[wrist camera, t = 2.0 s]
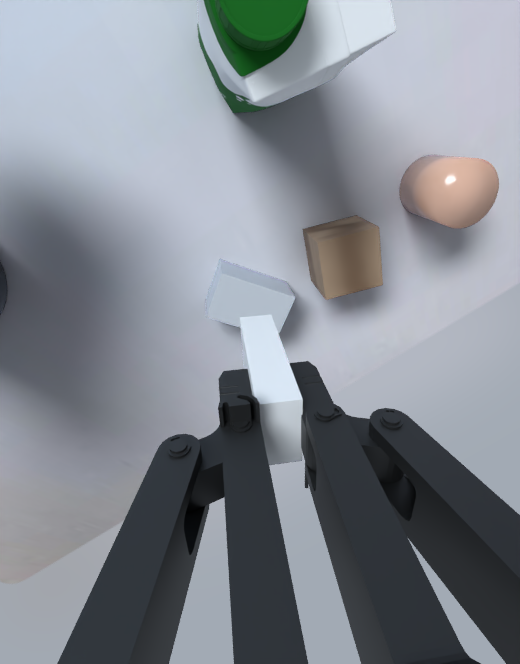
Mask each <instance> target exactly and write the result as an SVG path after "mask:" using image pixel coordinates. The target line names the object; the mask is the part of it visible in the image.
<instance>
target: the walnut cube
mask: <svg viewBox="0 0 520 664" xmlns="http://www.w3.org/2000/svg"><path fill="white" fill-rule="evenodd" d="M303 234H304V240H305V246H306V252H307V258H308V265H309V271H310V277H311V281H312V282H313V283H314V285H315V286H316V287H317V289H318V290H319V291H320V293H321V294H322V295H323V297H324V298H325V299H326V300H328V299H332V298H335V297H339V296H343V295H347V294H351V293H354V292H358V291H362V290H366V289H370V288H373V287H377V286H381V285H383V281H382V265H381V250H380V235H379V227H378V226H376V225H374V224H372V223H370V222H368V221H366V220H365V219H363V218H361V217H359V216H357V215H355V216H351V217H348V218H344V219H340V220H336V221H332V222H328V223H324V224H321V225H317V226H313V227H309V228H305V229H303Z"/></svg>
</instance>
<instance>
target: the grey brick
mask: <svg viewBox="0 0 520 664" xmlns="http://www.w3.org/2000/svg"><path fill="white" fill-rule="evenodd" d="M295 298H296V297H295V296H294V294H293V292H292V290H291V289H290V287H289V285H288V283H287V282H286V281H283V280H280V279H278V278H275V277H272V276H269V275H266V274H263V273H260V272H257V271H254V270H251V269H248V268H245V267H242V266H239V265H236V264H233V263H230V262H228V261H225V260H222V259H220V260H219V263H218V266H217V268H216V271H215V274H214V277H213V280H212V283H211V286H210V288H209V291H208V294H207V297H206V318H209V319H212V320H216V321H219V322H223V323H226V324H230V325H233V326H236V327H240V317H249V316H260V315H272V318H273V321H274V323H275V326H276V329H277V331H278V334H279V333H280V331H281V329H282V326H283V324H284V322H285V320H286V318H287V315H288V313H289V311H290V309H291V307H292V304H293V302H294V300H295Z"/></svg>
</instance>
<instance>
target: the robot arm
mask: <svg viewBox="0 0 520 664" xmlns="http://www.w3.org/2000/svg"><path fill="white" fill-rule="evenodd" d="M6 296H7V283H6V277H5V273H4V270H3V267H2V265H1V262H0V314H1V313H2V311H3V308H4V305H5V302H6ZM240 329H241V342H242V355H243V367H244V369H240V370H231V371H223V373H222V375H221V376H220V378H219V392H220V403H219V407H218V410H219V418H220V425H219V427H218V429H217V430H216V431H215V432H214V433H212V434H211V435H209V436H207V437H205V438H202V439H199V440H198V439H197V438H195V437H194V436H192V435H188V434H179V435H175V436H172V437H169V438H168V439H166V440H165V441H164V442H162V444H161V445H160V446H159V448H158V450H157V452H156V454H155V456H154V458H153V461H152V463H151V465H150V467H149V469H148V471H147V473H146V475H145V478H144V480H143V482H142V484H141V486H140V488H139V490H138V493H137V495H136V497H135V499H134V501H133V503H132V505H131V508H130V510H129V512H128V514H127V516H126V518H125V520H124V522H123V525H122V527H121V529H120V531H119V533H118V536H117V537H116V540H115V542H114V544H113V546H112V548H111V550H110V552H109V555H108V557H107V559H106V561H105V563H104V565H103V568H102V570H101V572H100V574H99V576H98V578H97V581H96V582H95V585H94V587H93V589H92V591H91V593H90V595H89V597H88V600H87V602H86V604H85V606H84V608H83V610H82V612H81V615H80V617H79V619H78V621H77V623H76V625H75V627H74V630H73V631H72V634H71V636H70V638H69V640H68V642H67V644H66V647H65V649H64V651H63V653H62V655H61V657H60V659H59V661H58V664H169V661H170V656H171V653H172V649H173V645H174V641H175V638H176V634H177V630H178V626H179V622H180V618H181V614H182V611H183V606H184V603H185V598H186V595H187V591H188V587H189V583H190V580H191V575H192V572H193V568H194V564H195V560H196V556H197V552H198V549H199V544H200V540H201V537H202V533H203V529H204V525H205V522H206V517H207V514H208V510H209V504H210V503H212V502H215V501H217V500H219V499H221V498H223V497H225V513H226V531H227V548H228V566H229V583H230V600H231V618H232V636H233V653H234V664H308V660H307V656H306V650H305V645H304V640H303V635H302V631H301V625H300V620H299V615H298V610H297V605H296V600H295V595H294V589H293V585H292V580H291V574H290V569H289V565H288V559H287V554H286V549H285V544H284V539H283V534H282V529H281V524H280V519H279V514H278V509H277V503H276V499H275V493H274V489H273V483H272V478H271V473H270V469H269V465H274V464H281V463H289V462H296V461H302V452H303V455H304V458H305V488H308V484H309V486H310V490H311V494H312V497H313V501H314V504H315V507H316V510H317V514H318V518H319V521H320V524H321V528H322V531H323V535H324V538H325V542H326V545H327V548H328V552H329V555H330V559H331V562H332V565H333V569H334V572H335V575H336V579H337V582H338V586H339V589H340V593H341V596H342V599H343V603H344V606H345V610H346V613H347V616H348V620H349V623H350V627H351V630H352V634H353V637H354V640H355V644H356V647H357V651H358V654H359V657H360V661H361V664H480V663H479V662H477V661H475V660H473V659H471V658H470V657H469V656H468V655H467V654H466V652H465V651H464V649H463V647H462V646H461V644H460V642H459V640H458V638H457V636H456V634H455V632H454V630H453V628H452V626H451V624H450V622H449V620H448V618H447V616H446V614H445V612H444V610H443V608H442V606H441V604H440V602H439V600H438V598H437V596H436V594H435V592H434V590H433V588H432V586H431V584H430V582H429V580H428V578H427V576H426V574H425V572H424V570H423V568H422V566H421V564H420V562H419V560H418V558H417V556H416V554H415V552H414V550H413V548H412V546H411V544H410V542H409V540H410V541H411V542H412V543H413V545H414V546H415V547H416V549H418V551H419V552H420V554H421V555H422V556H423V558H424V559H425V560H426V561H427V563H428V564H429V565H430V566H431V568H432V569H433V570H434V572H435V573H436V574H437V575H438V577H439V578H440V579H441V581H442V582H443V583H444V584H445V586H446V587H447V588H448V590H449V591H450V592H451V593H452V595H453V596H454V597H455V599H456V600H457V601H458V602H459V604H460V605H461V606H462V607H463V609H464V610H465V611H466V613H467V614H468V615H469V616H470V618H471V619H472V620H473V621H474V623H475V624H476V625H477V627H478V628H479V629H480V630H481V632H482V633H483V634H484V636H485V637H486V638H487V639H488V641H489V642H490V643H491V645H492V646H493V647H494V648H495V650H496V651H497V652H498V654H499V655H500V656H501V657H502V659H503V660H504V661H505V663H506V664H520V515H519V514H518V513H517V512H515V511H514V510H513V509H512V508H511V507H510V506H509V505H508V504H506V503H505V502H504V501H503V500H502V499H500V497H498V496H497V495H496V494H495V493H494V492H493V491H492V490H491V489H489V488H488V487H487V486H486V485H485V484H484V483H483V482H482V481H480V480H479V479H478V478H477V477H476V476H475V475H474V474H473V473H471V472H470V471H469V470H468V469H467V468H466V467H465V466H464V465H462V464H461V463H460V462H459V461H458V460H457V459H456V458H455V457H453V456H452V455H451V454H450V453H449V452H448V451H447V450H445V449H444V448H443V447H442V446H441V445H440V444H439V443H438V442H437V441H435V440H434V439H433V438H432V437H431V436H430V435H429V434H427V433H426V432H425V431H424V430H423V429H422V428H421V427H420V426H418V425H417V424H416V423H415V422H414V421H413V420H412V419H411V418H409V417H408V416H407V415H406V414H404V413H402V412H400V411H398V410H395V409H388V408H384V409H378V410H376V411H374V412H373V413H372V415H371V416H370V419H365V418H357V417H351V416H348V415H346V414H345V412H344V411H343V410H342V409H341V408H340V407H339V406H337V405H335V404H333V401H332V399H331V397H330V395H329V393H328V391H327V389H326V387H325V385H324V383H323V380H322V378H321V377H320V374H319V372H318V370H317V368H316V367H315V366H314V365H312V364H311V363H310V362H308V361H306V362H297V363H289V361H288V358H287V356H286V353H285V350H284V348H283V345H282V342H281V339H280V337H279V334H278V331H277V329H276V326H275V323H274V321H273V318H272V315H260V316H249V317H240ZM407 537H408V538H409V540H408V538H407Z"/></svg>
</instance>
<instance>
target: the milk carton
mask: <svg viewBox="0 0 520 664" xmlns="http://www.w3.org/2000/svg"><path fill="white" fill-rule="evenodd" d="M197 8H198V37H199V43H200V46H201V49H202V51H203V54H204V56H205V59H206V62H207V64H208V66H209V69H210V71H211V73H212V76H213V78H214V80H215V83H216V85H217V87H218V89H219V91H220V93H221V94H222V96H223V97H224V99H225V101H226V102H227V104H228V105H229V107H230V109H231V110H232V112H233V113H239V112H255V111H259V110H262V109H266V108H268V107H271V106H273V105H276V104H279V103H281V102H283V101H286V100H288V99H290V98H292V97H295V96H297V95H299V94H301V93H303V92H306V91H309V90H311V89H314V88H316V87H318V86H320V85H322V84H324V83H326V82H328V81H330V80H332V79H334V78H335V77H336V76H337V75H338V74H339V73H340V72H341V70H342V69H343V68H344V67H345V66H346V65H348V64H349V63H351V62H352V61H353V60H355V59H356V58H358V57H359V56H360V55H362V54H363V53H365V52H366V51H368V50H369V49H370V48H372V47H374V46H375V45H377V44H378V43H380V42H381V41H383V40H384V39H386V38H387V37H389V36H390V35H392V34H393V33H395V32H396V26H395V20H394V15H393V10H392V5H391V0H197Z"/></svg>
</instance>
